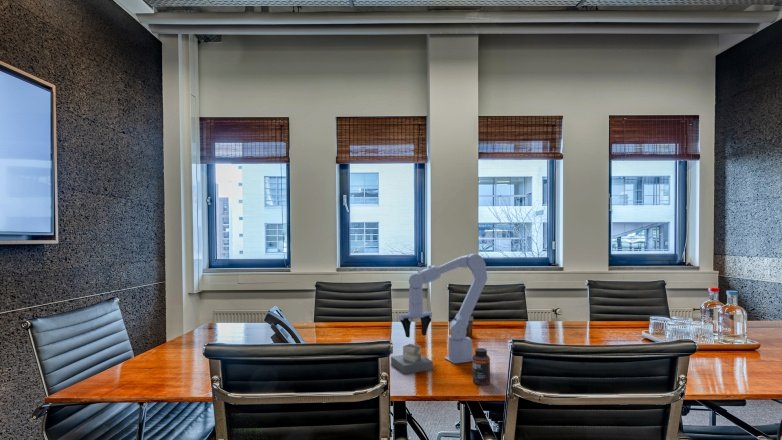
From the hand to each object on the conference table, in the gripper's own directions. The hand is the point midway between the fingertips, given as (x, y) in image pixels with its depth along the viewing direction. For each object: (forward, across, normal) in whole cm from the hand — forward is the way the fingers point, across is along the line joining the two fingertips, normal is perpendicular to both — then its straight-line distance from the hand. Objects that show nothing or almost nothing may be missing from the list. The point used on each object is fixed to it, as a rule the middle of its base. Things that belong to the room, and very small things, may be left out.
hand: (415, 335), depth 166 cm
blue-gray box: (+9, -6, -8) cm, 14 cm away
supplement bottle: (+10, +8, -32) cm, 35 cm away
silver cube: (+6, -6, -8) cm, 12 cm away
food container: (+10, +42, +26) cm, 50 cm away
